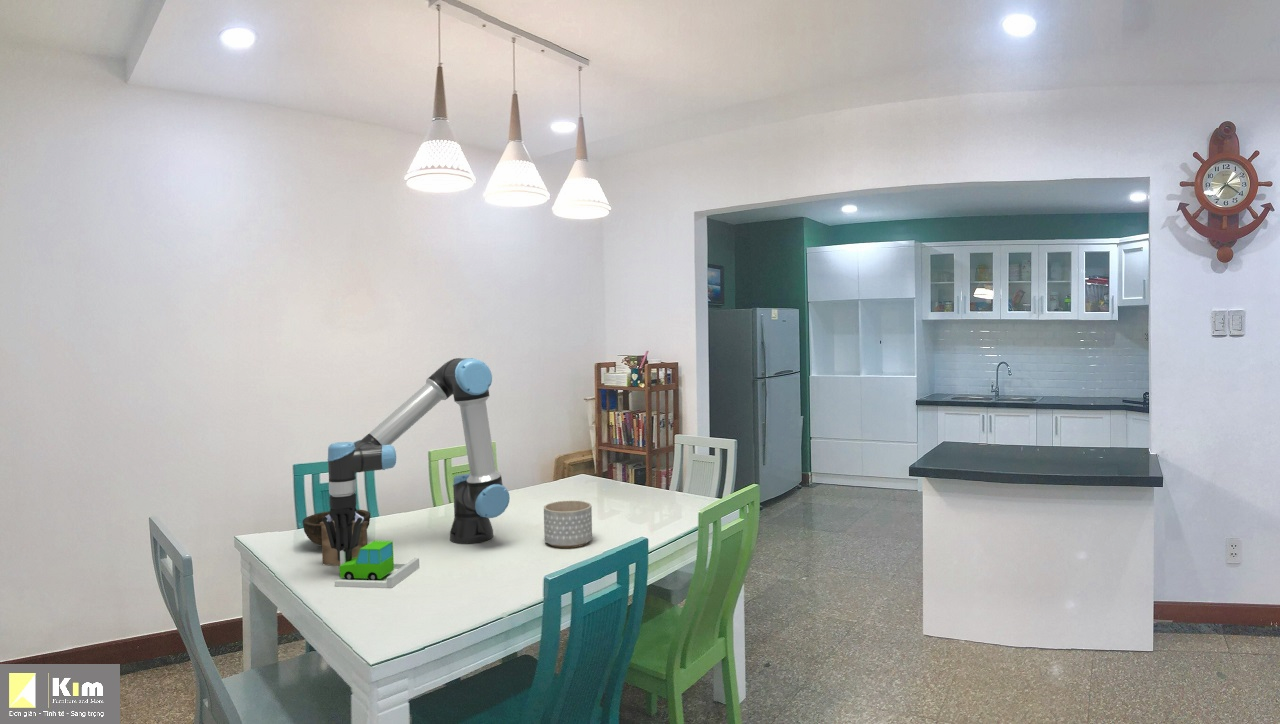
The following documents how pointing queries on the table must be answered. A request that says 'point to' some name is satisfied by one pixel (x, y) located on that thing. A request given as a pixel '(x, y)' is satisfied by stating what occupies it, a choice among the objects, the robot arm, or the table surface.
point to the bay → (392, 580)
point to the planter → (567, 523)
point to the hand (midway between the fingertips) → (345, 571)
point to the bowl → (314, 527)
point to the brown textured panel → (331, 554)
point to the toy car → (370, 562)
